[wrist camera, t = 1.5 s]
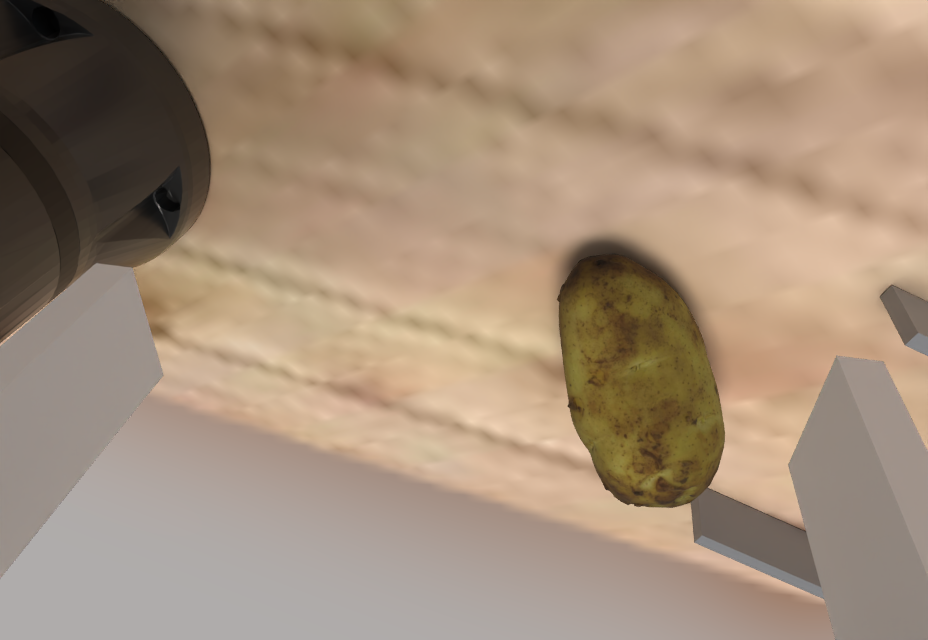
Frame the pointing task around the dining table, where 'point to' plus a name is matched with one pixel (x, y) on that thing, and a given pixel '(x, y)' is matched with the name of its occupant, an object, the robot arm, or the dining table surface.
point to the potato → (639, 383)
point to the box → (767, 537)
